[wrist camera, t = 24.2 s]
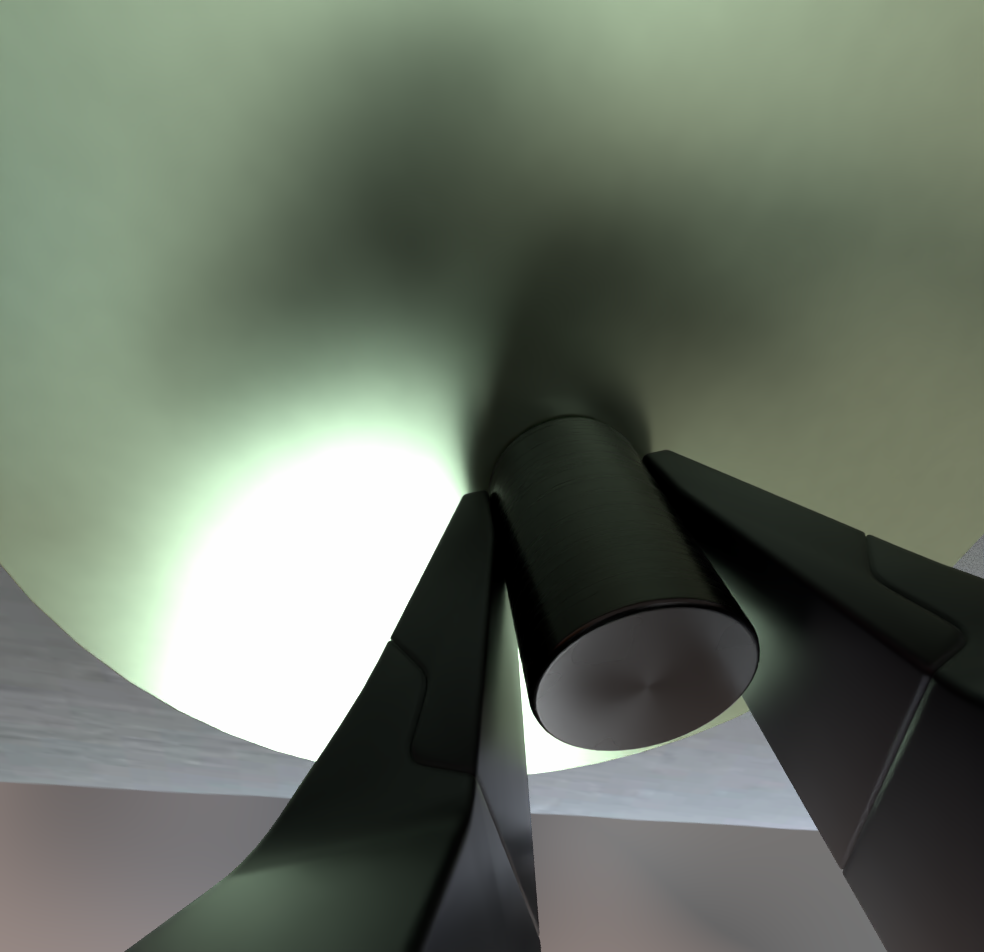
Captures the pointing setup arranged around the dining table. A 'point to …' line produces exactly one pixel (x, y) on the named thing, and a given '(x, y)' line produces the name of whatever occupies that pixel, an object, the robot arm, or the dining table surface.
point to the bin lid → (473, 328)
